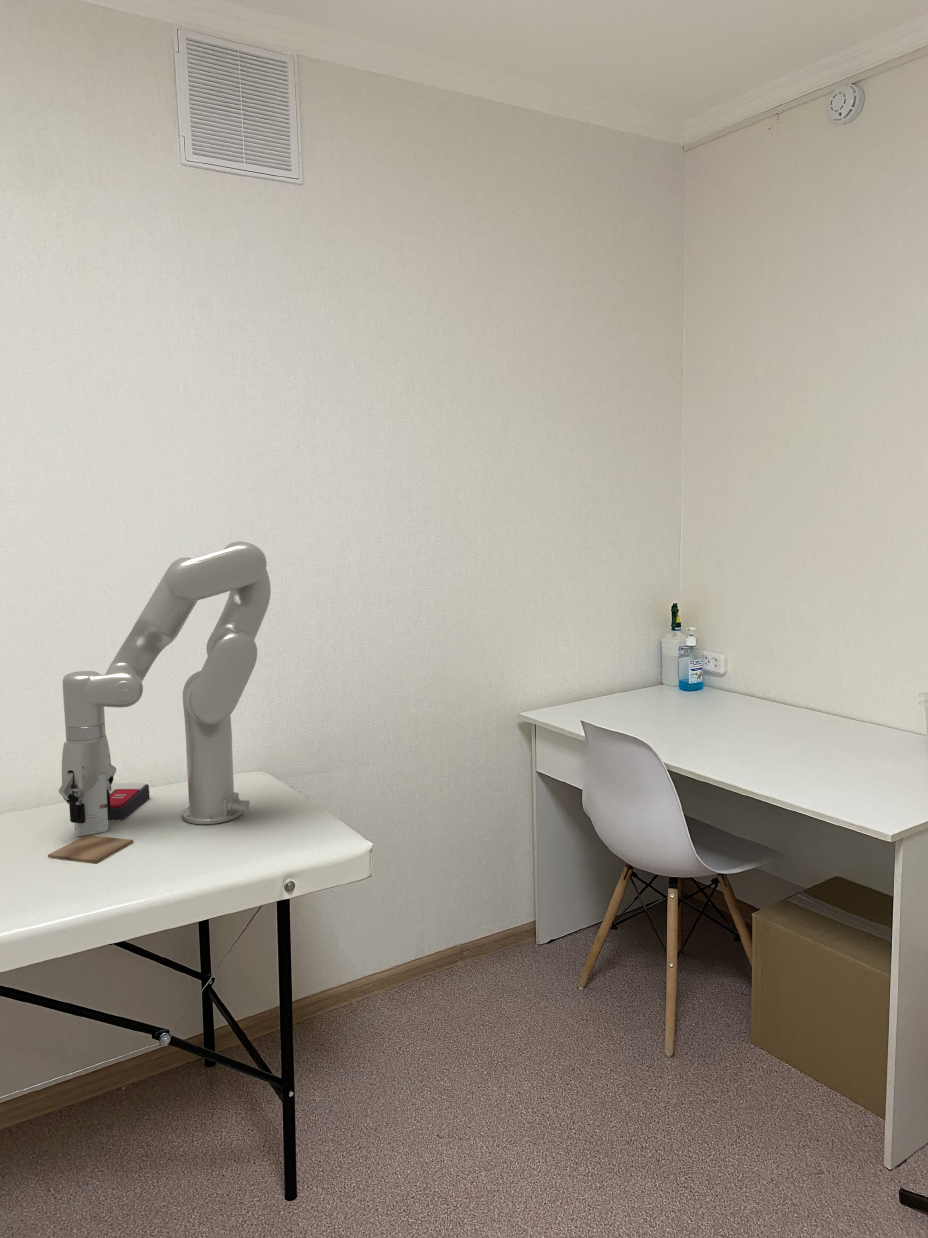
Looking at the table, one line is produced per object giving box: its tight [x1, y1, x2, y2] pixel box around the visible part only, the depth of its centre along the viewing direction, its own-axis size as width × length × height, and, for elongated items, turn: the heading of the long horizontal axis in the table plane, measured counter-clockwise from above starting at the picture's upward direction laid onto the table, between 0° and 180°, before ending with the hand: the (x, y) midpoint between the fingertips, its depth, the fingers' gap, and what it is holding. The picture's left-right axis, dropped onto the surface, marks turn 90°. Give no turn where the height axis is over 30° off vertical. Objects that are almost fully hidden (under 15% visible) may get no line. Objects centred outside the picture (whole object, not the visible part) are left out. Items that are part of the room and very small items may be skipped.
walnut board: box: [47, 834, 134, 864], centre depth 179 cm, size 11×11×1 cm
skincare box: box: [74, 773, 109, 837], centre depth 189 cm, size 6×4×12 cm
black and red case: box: [108, 782, 150, 821], centre depth 204 cm, size 11×4×15 cm
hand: (90, 815), depth 189 cm, fingers closed on skincare box, 7 cm apart
